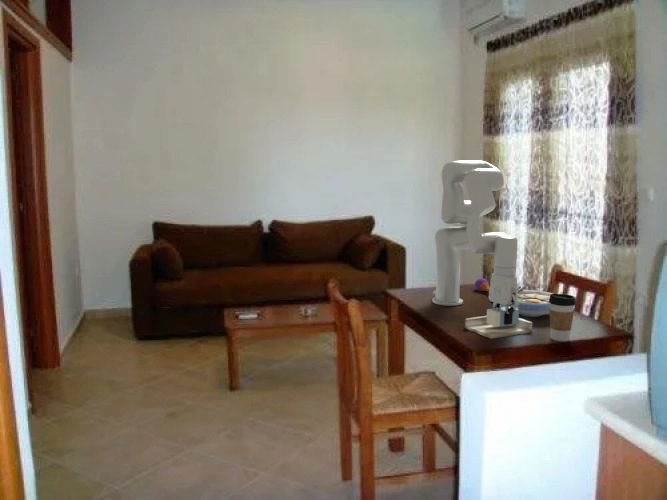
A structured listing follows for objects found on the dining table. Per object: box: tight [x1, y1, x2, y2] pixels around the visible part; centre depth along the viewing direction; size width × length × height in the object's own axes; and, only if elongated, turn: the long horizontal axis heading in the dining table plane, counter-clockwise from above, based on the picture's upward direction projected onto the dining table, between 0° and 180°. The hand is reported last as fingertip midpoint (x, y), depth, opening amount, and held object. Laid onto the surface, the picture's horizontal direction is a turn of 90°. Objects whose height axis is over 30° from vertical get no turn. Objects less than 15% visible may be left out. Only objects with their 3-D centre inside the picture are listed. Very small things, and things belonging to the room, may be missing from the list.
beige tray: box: [464, 315, 533, 340], centre depth 218 cm, size 14×18×4 cm
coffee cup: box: [549, 293, 577, 342], centre depth 207 cm, size 8×8×15 cm
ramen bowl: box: [508, 285, 554, 318], centre depth 238 cm, size 25×23×8 cm
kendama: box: [474, 277, 490, 293], centre depth 274 cm, size 6×6×20 cm
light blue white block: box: [486, 306, 520, 327], centre depth 218 cm, size 10×5×5 cm, turn 116°
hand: (502, 321), depth 218 cm, fingers closed on light blue white block, 5 cm apart
